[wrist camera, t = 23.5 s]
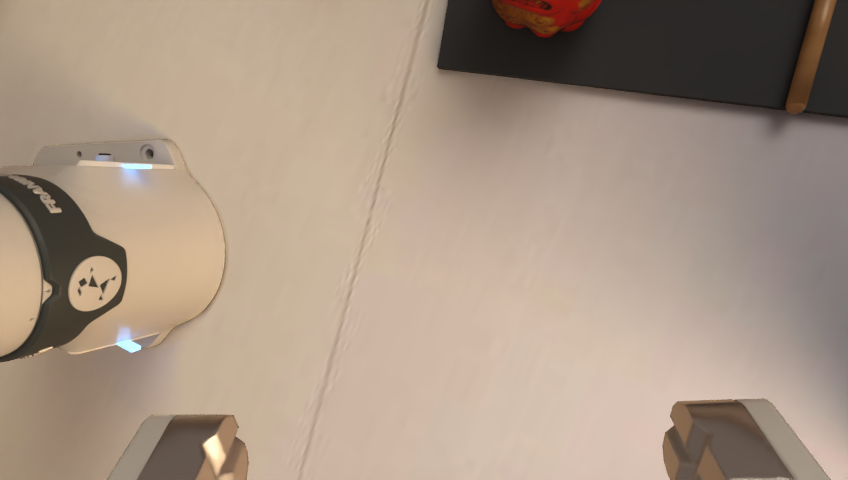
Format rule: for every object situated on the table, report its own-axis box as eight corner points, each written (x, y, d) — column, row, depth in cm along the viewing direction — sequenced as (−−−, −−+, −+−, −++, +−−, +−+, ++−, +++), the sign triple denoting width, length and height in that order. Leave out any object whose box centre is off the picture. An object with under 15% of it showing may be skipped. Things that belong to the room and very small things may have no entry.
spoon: (829, 119, 29) (838, 117, 28) (752, 110, 30) (758, 107, 29) (898, -115, 27) (910, -126, 26) (813, -116, 28) (821, -127, 27)
